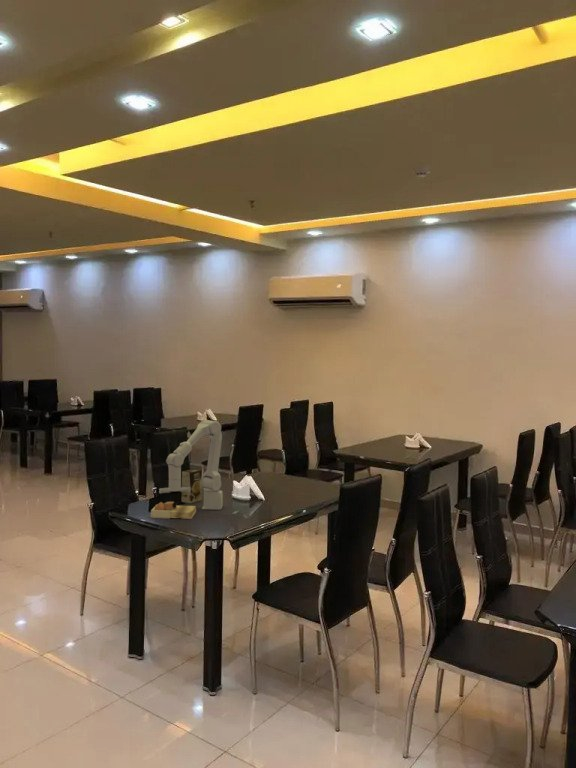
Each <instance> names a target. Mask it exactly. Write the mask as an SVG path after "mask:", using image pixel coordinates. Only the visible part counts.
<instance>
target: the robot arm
mask: <svg viewBox="0 0 576 768" xmlns="http://www.w3.org/2000/svg"><path fill="white" fill-rule="evenodd" d="M203 436H208V437H209V439H210V443H209V449H208V450H209V451H208V458H207V466H206V471H205V472H203V475H202V479H201V488H202V489H203V506H202V507H201V510H215V511H217V510H219V511H220V510H222V508H223V505H224V504H223V503H224V500H223V497H224V495H223V494H224V493H223V490H221V487H222V478H221V477H222V476H221V474H220V473H219V465H220V457H221V448H222V442H223V441H222V440H223V434H222V424H221V423H220V422H218V420H208V419H202V420H201V421H200V423H198V424H197V427H196V429H195V430H194V432H193V433H192V434H191V435H190V436H189V437H188V439H187V441H183V442H180V443H179V446H178V447H176V449H175V450H174V451H173V453H169V454H168V456H167V457H166V459H165V463H166V464H167V466H168V487H163V488H162V487H161V488H159V489H158V490H159V491H158V493H159V494H164V493H165V494H167V493H169V494H170V496H171V498H172V500H173V501H172V502H174V508H176V505H177V503H178V500H179V498H180V496H181V493H182V492H190V487H182V465H183V464H184V462H185V461H184V460H185V458H186V457H187V456H188V455H189V454H190V452H191V451H192V450H193V446H194V445H195V444H196V443H197V442H198V441H199V440H200V439H201V438H202V437H203Z"/></svg>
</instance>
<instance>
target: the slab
mask: <svg viewBox="0 0 576 768" xmlns="http://www.w3.org/2000/svg"><path fill="white" fill-rule="evenodd" d="M196 513H197V506H196V505H177V507H176V508H173V509H172V510H171V512H170V518H181V519H182V520H183V519H184V520H186V519H187V520H192V519H193V517H194V516H195V515H196ZM170 518H169V519H170ZM181 519H180V520H181Z"/></svg>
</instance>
